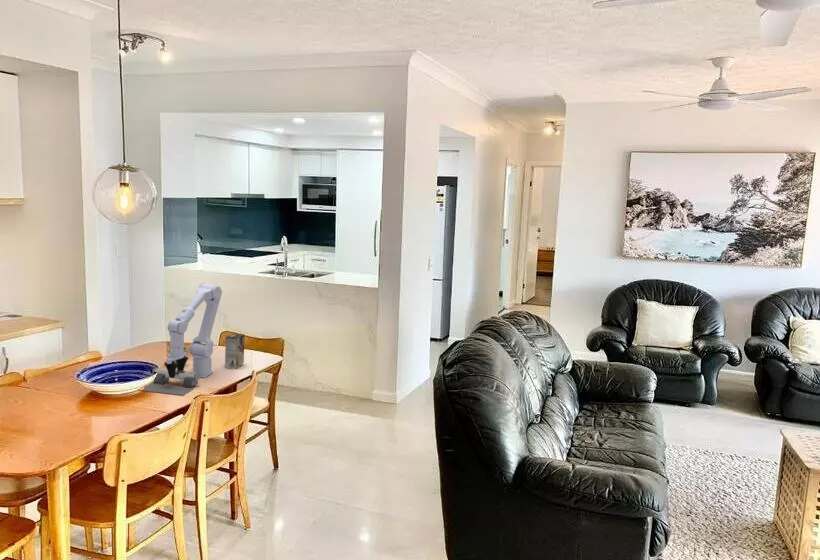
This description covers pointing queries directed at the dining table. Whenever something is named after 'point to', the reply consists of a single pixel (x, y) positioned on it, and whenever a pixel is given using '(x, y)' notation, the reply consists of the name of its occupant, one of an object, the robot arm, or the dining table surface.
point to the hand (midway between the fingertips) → (176, 375)
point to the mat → (167, 389)
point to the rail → (178, 374)
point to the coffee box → (234, 350)
